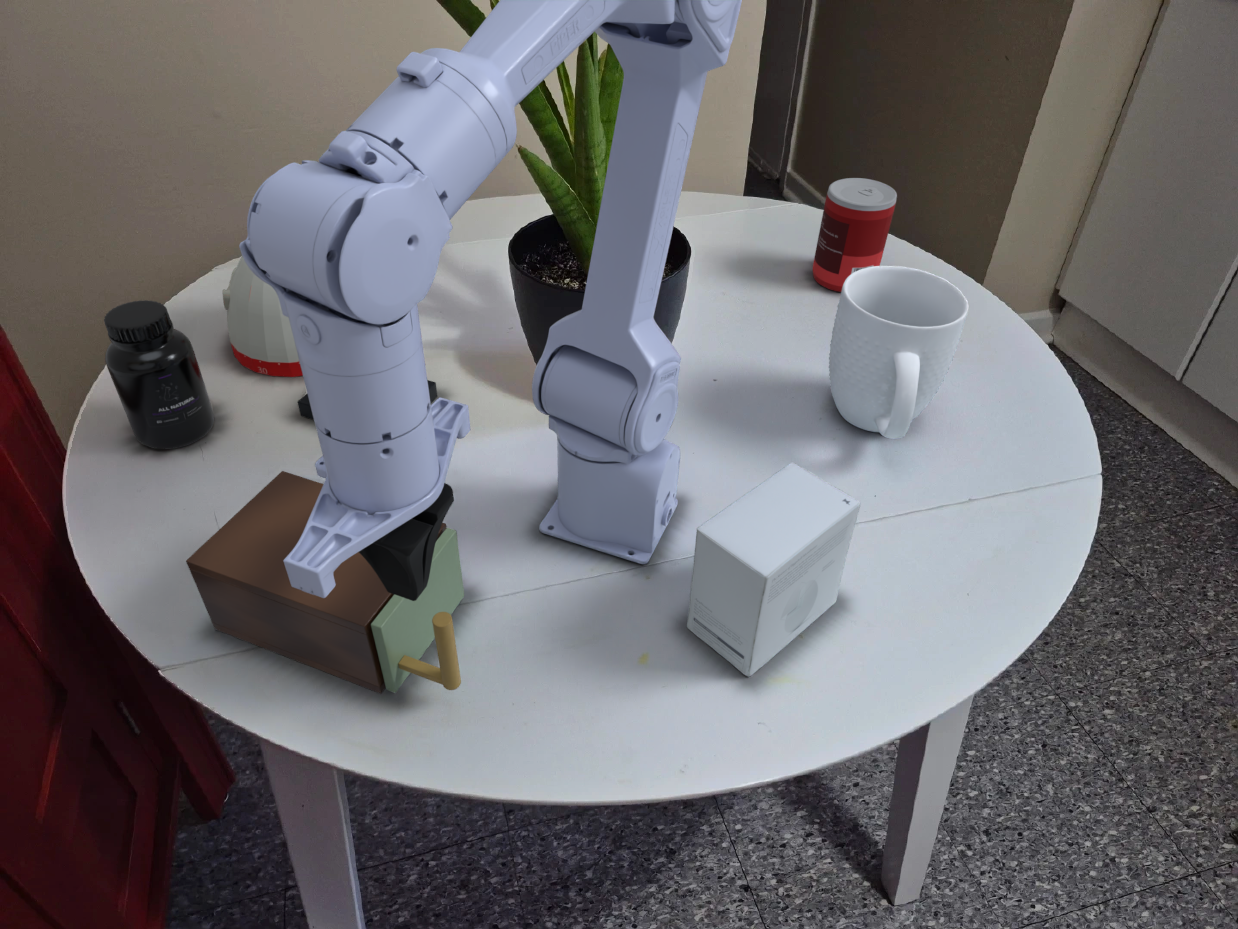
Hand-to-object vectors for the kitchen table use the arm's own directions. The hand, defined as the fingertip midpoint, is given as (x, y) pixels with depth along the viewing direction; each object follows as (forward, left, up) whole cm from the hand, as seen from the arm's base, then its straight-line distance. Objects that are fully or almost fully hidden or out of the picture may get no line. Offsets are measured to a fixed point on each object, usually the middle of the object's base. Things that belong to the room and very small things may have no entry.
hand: (407, 588), depth 52 cm
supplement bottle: (+36, -16, -11) cm, 40 cm away
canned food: (-15, -71, -11) cm, 73 cm away
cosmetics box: (-19, -16, -11) cm, 27 cm away
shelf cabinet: (+10, -4, -10) cm, 15 cm away
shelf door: (0, -4, -10) cm, 11 cm away
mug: (-23, -44, -11) cm, 51 cm away
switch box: (+22, -26, -10) cm, 35 cm away
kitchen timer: (+35, -33, -11) cm, 49 cm away
